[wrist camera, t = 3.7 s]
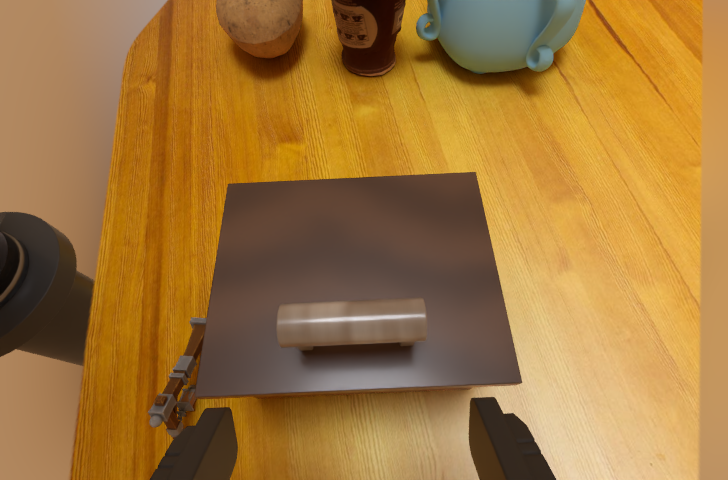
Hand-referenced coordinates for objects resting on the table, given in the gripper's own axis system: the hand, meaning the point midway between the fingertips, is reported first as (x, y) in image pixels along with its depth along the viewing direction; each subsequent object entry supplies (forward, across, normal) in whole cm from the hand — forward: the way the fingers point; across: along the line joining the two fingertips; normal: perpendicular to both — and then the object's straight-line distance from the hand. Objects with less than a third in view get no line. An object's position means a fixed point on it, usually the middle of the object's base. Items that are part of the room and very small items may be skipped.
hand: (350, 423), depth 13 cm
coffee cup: (+39, -2, -16) cm, 42 cm away
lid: (+10, 0, -1) cm, 10 cm away
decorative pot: (+40, -17, -18) cm, 47 cm away
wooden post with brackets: (+14, +12, +8) cm, 21 cm away
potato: (+42, +10, -19) cm, 47 cm away
